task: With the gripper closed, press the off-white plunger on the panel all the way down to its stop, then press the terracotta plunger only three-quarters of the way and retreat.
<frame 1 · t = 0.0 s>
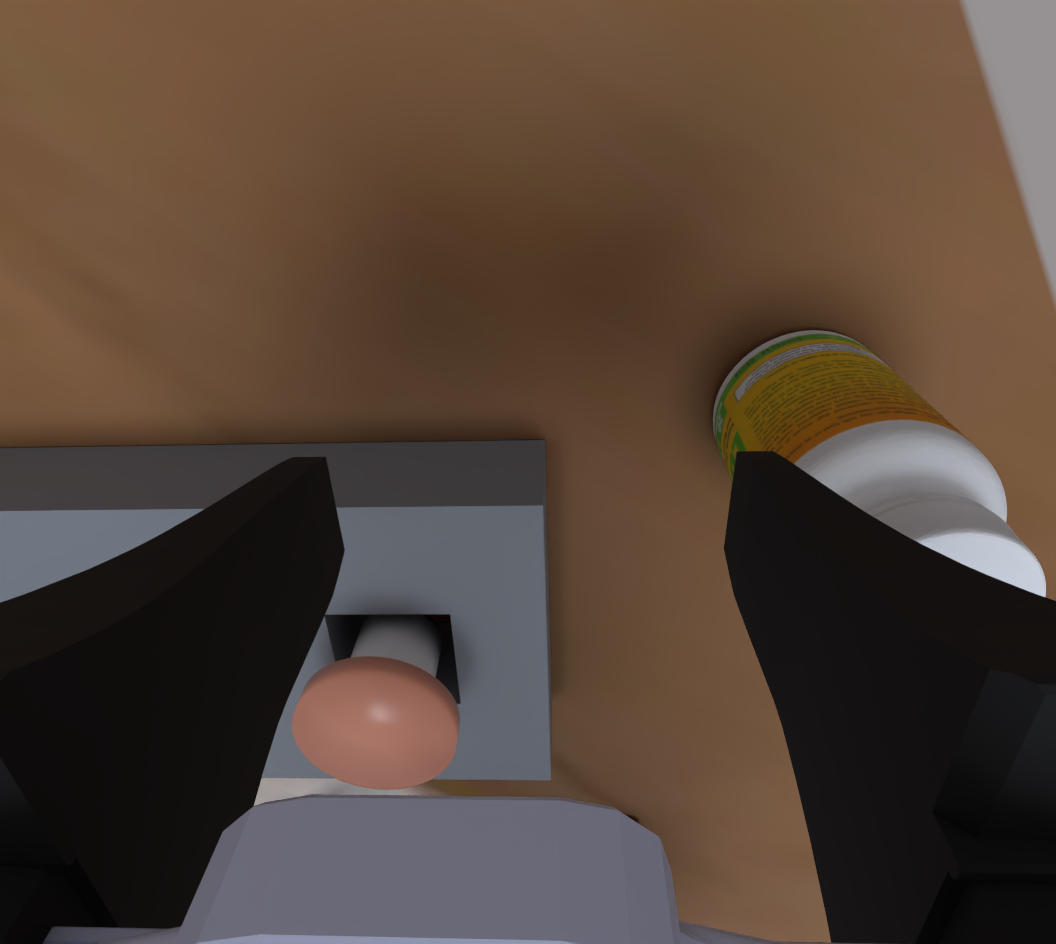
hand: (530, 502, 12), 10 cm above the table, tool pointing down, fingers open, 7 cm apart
panel: (286, 583, 27), on the table
supplement bottle: (793, 405, 22), on the table
red plunger: (388, 684, 22), point 5 cm above the table, slide at 0.0 cm
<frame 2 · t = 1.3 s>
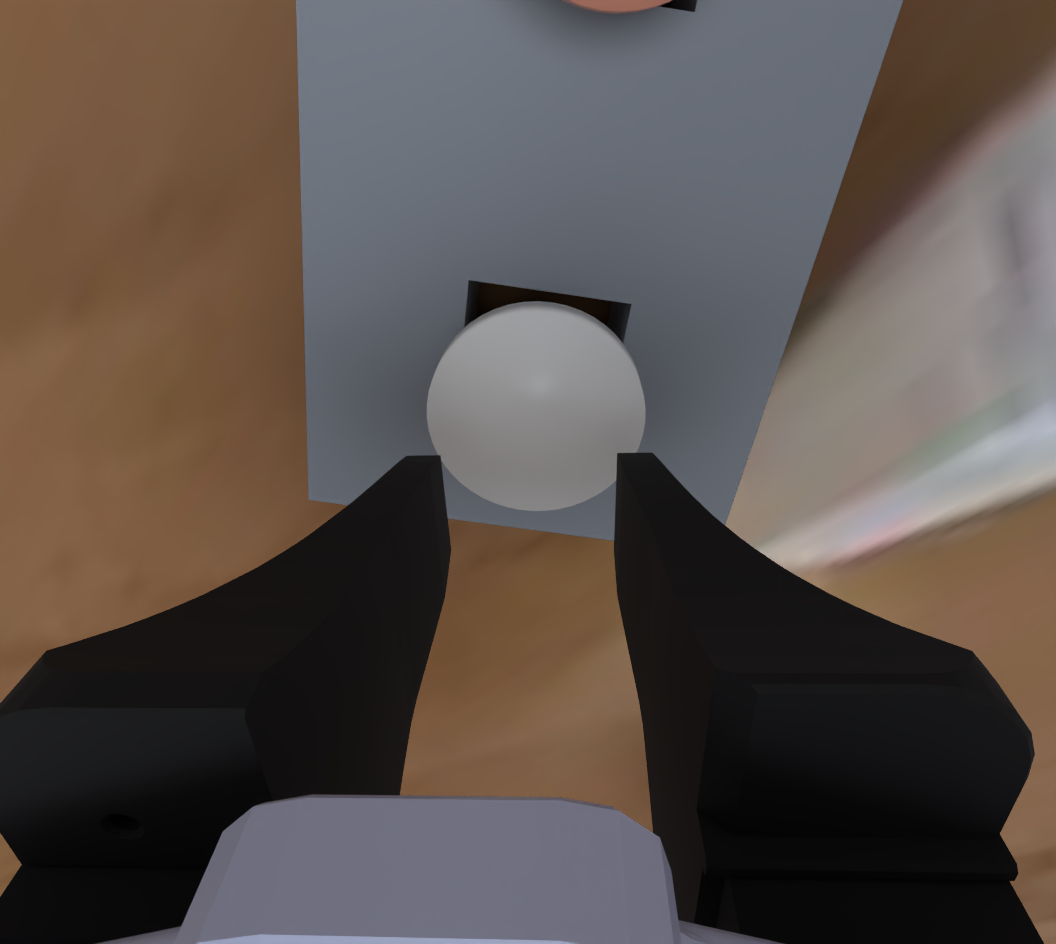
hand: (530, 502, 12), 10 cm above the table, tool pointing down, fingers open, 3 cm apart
grey plunger: (537, 383, 17), point 5 cm above the table, slide at 0.0 cm
panel: (568, 141, 19), on the table
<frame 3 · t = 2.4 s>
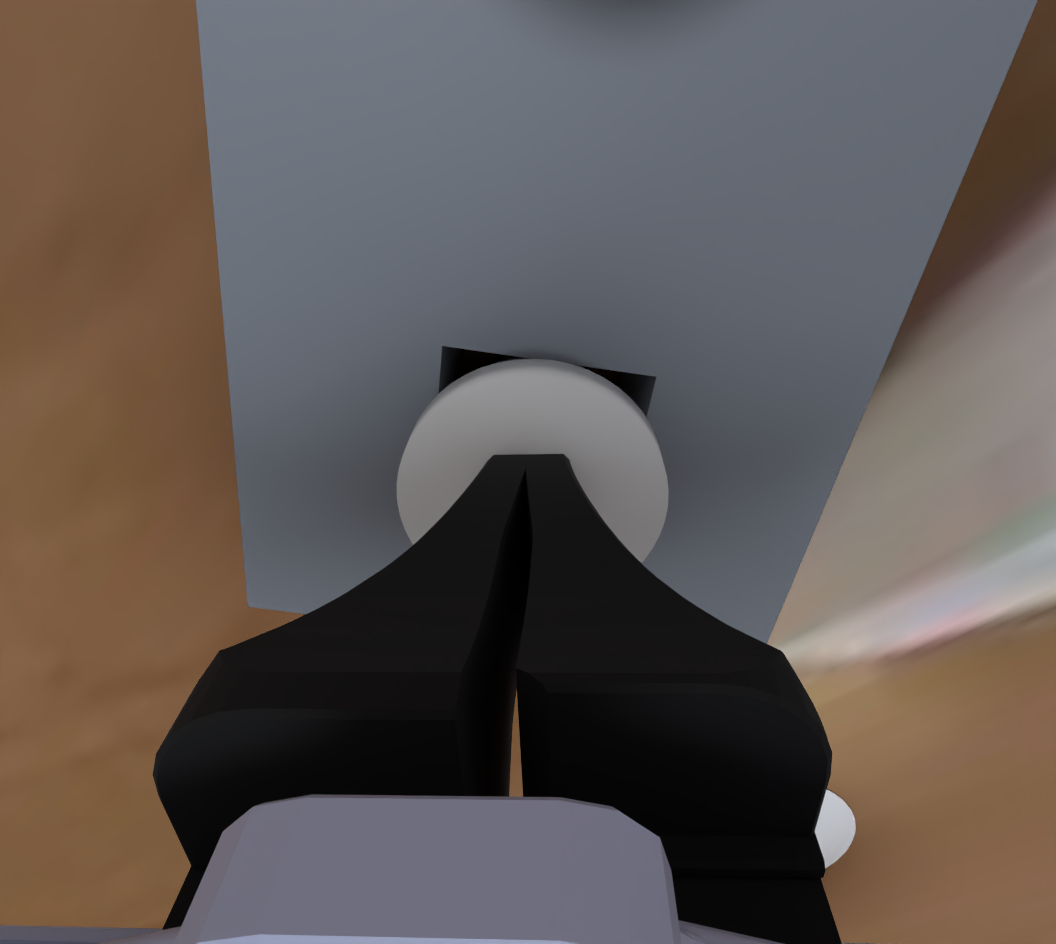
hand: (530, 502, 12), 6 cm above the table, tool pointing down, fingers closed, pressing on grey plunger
grey plunger: (534, 449, 14), point 4 cm above the table, slide at 1.2 cm, touching gripper
panel: (573, 160, 15), on the table
champagne flute: (762, 830, 26), on the table
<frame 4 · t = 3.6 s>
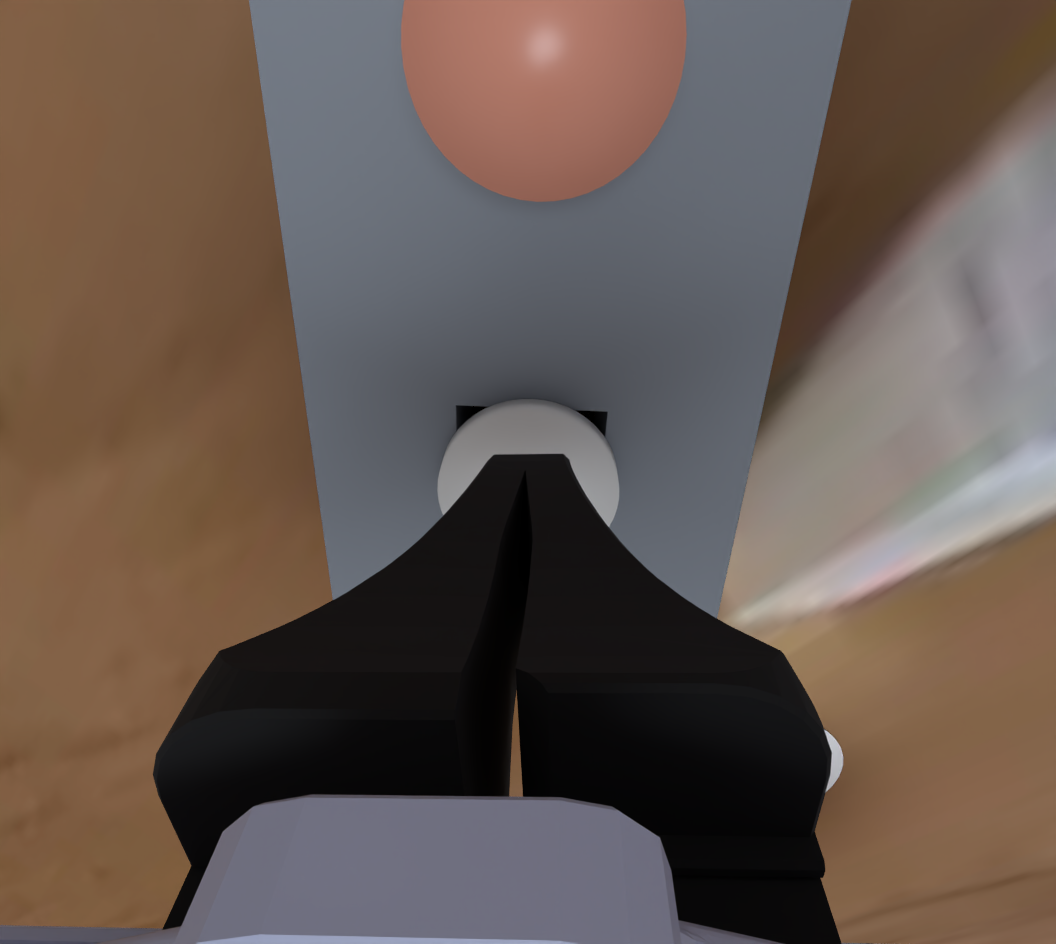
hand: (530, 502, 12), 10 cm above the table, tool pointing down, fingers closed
grey plunger: (530, 458, 20), point 3 cm above the table, slide at 1.9 cm
panel: (538, 256, 20), on the table
champagne flute: (764, 764, 31), on the table
red plunger: (544, 53, 14), point 5 cm above the table, slide at 0.0 cm
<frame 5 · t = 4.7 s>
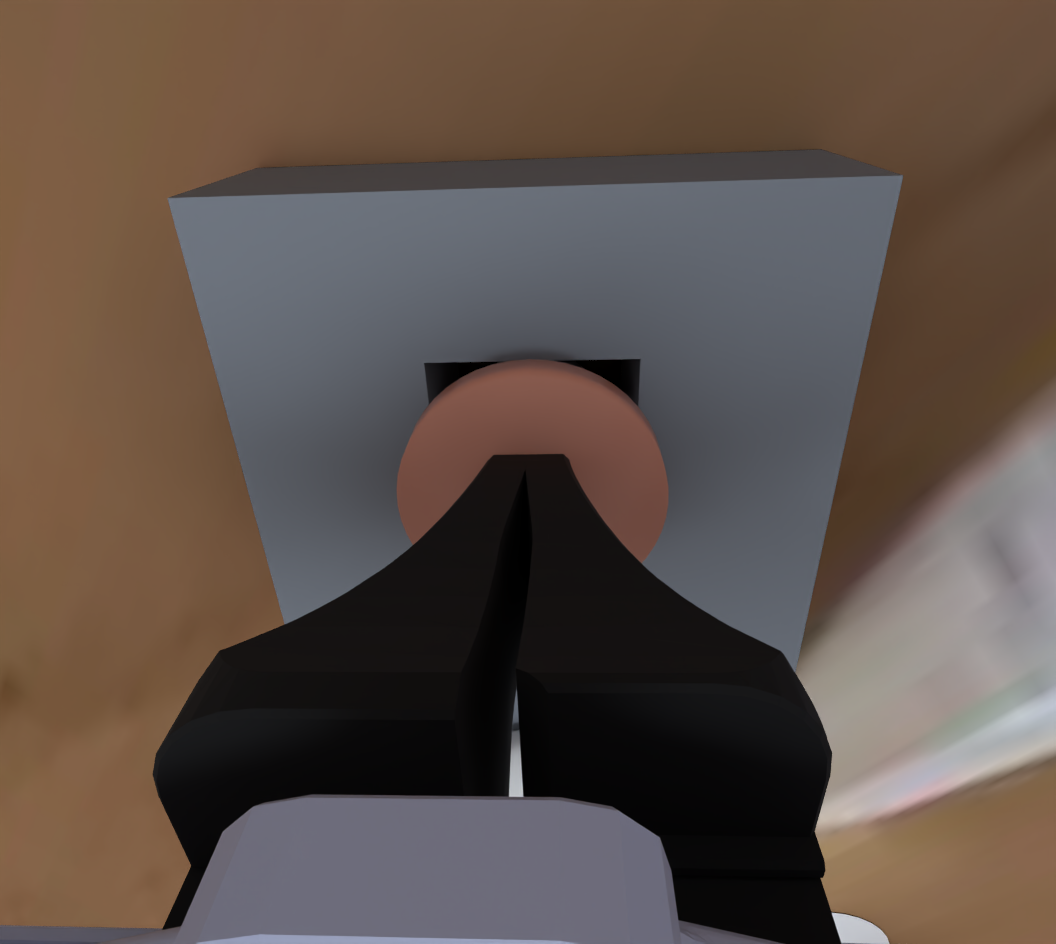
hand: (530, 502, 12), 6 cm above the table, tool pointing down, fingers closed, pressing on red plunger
grey plunger: (546, 751, 20), point 3 cm above the table, slide at 1.9 cm
panel: (544, 542, 20), on the table
red plunger: (535, 450, 14), point 4 cm above the table, slide at 1.2 cm, touching gripper
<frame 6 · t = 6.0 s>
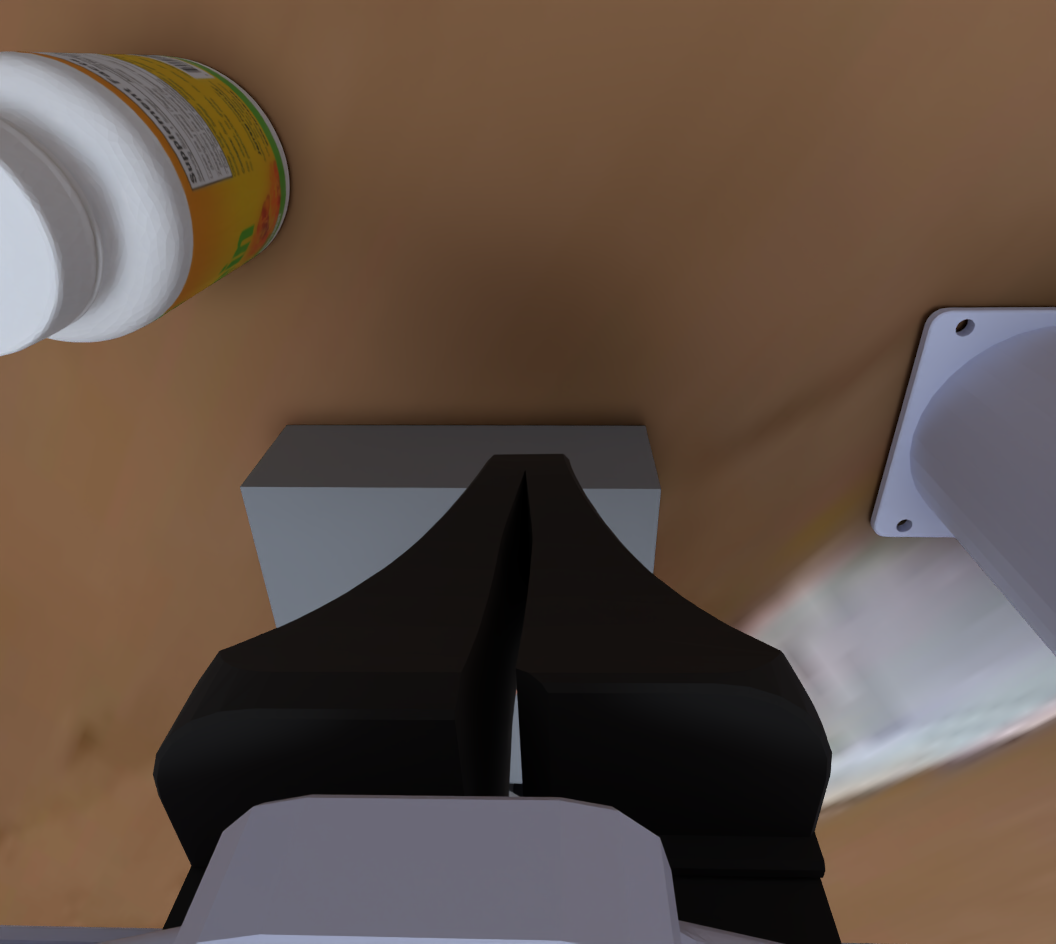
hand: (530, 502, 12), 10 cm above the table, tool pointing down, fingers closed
grey plunger: (478, 794, 28), point 3 cm above the table, slide at 1.9 cm
panel: (479, 647, 28), on the table
supplement bottle: (201, 166, 20), on the table
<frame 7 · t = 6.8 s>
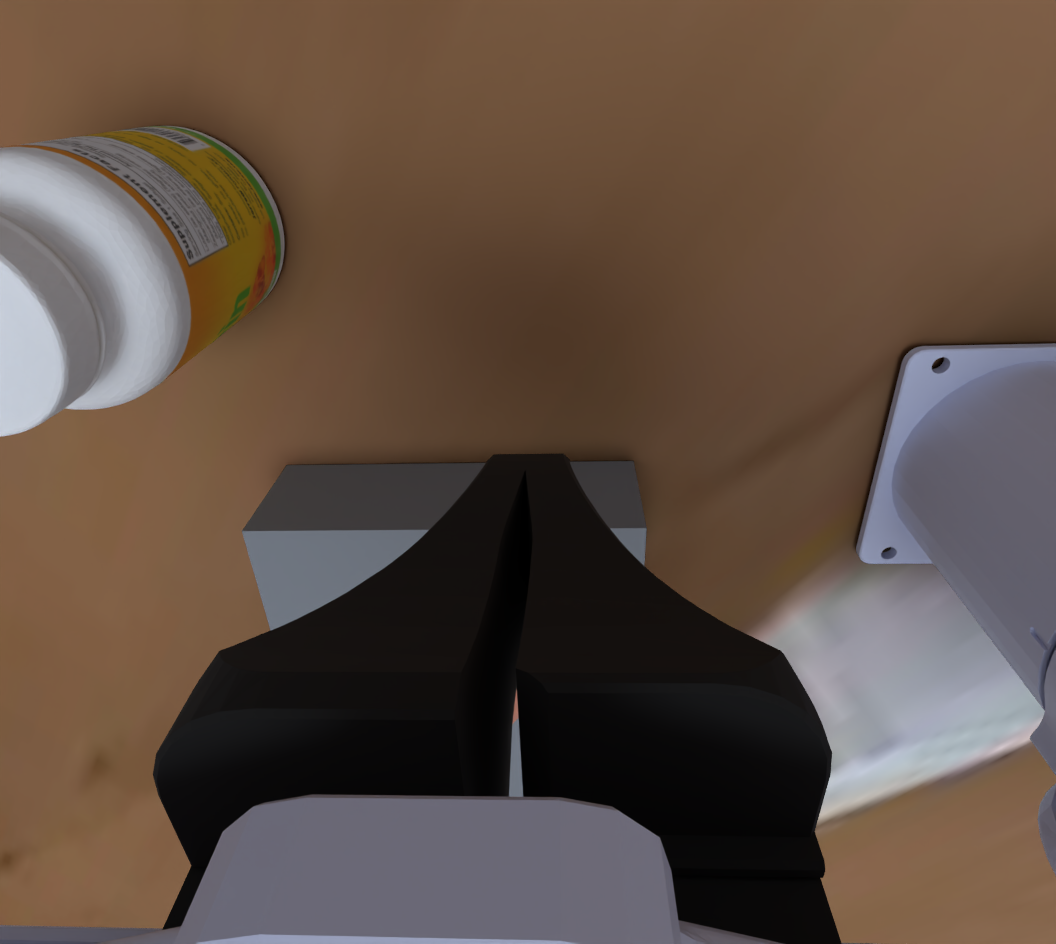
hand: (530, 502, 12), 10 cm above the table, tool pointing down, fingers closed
panel: (478, 672, 29), on the table
supplement bottle: (199, 225, 21), on the table
red plunger: (457, 645, 23), point 4 cm above the table, slide at 1.4 cm
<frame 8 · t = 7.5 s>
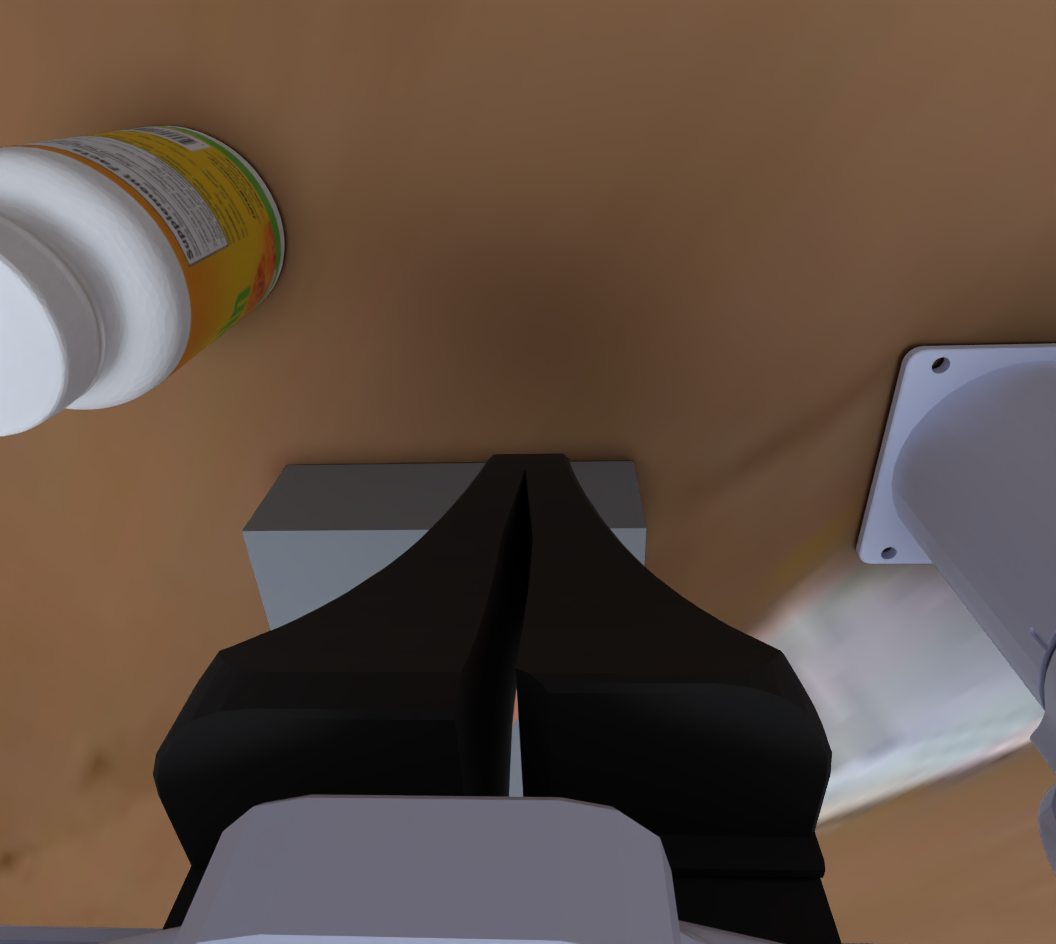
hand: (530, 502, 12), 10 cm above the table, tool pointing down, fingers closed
panel: (478, 672, 29), on the table
supplement bottle: (199, 225, 21), on the table
red plunger: (457, 645, 23), point 4 cm above the table, slide at 1.4 cm
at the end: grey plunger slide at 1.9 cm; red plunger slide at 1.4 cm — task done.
